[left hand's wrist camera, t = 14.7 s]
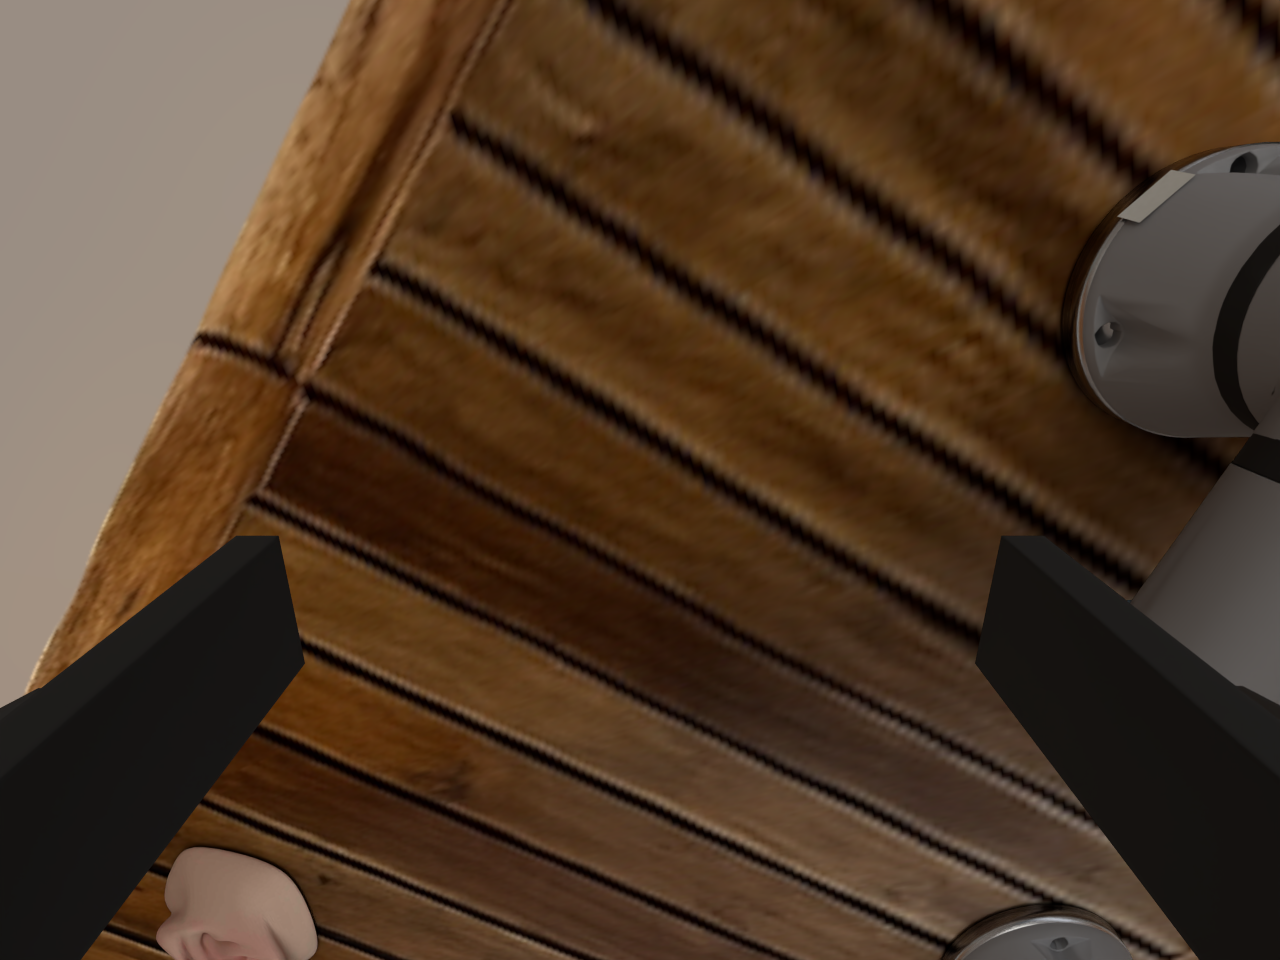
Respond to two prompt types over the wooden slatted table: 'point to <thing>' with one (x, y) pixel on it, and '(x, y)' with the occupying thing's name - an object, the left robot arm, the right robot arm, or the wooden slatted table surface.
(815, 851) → the wooden slatted table surface
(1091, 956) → the right robot arm
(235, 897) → the anatomical model
